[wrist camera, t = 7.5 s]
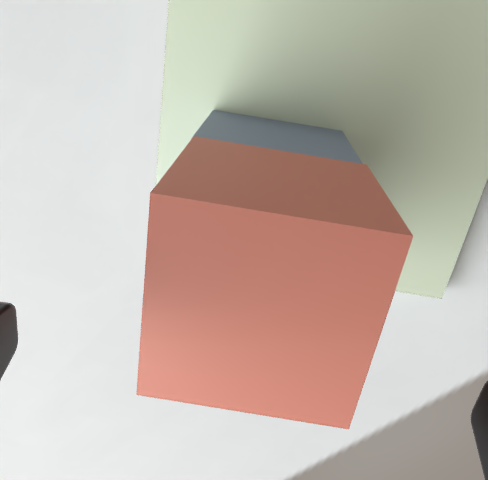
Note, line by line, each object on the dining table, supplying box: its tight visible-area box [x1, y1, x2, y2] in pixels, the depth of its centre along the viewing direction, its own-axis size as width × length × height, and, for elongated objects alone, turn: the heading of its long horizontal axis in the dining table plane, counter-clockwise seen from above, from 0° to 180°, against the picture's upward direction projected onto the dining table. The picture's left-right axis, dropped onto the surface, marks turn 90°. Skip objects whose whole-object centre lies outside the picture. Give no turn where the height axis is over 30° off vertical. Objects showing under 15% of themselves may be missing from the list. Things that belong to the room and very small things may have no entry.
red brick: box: [137, 136, 413, 429], centre depth 12 cm, size 5×5×5 cm
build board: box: [156, 0, 488, 299], centre depth 18 cm, size 13×16×1 cm
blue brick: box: [191, 110, 363, 164], centre depth 17 cm, size 5×5×5 cm
